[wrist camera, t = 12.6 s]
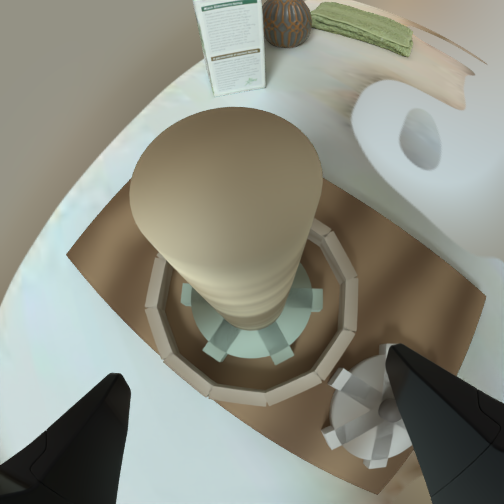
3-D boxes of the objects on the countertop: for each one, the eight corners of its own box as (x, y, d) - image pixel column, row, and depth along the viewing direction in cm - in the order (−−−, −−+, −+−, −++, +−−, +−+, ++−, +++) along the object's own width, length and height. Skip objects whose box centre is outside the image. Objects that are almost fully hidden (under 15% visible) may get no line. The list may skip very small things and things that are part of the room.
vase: (255, 50, 30) (252, -6, 22) (263, 31, 32) (261, -18, 24) (309, 55, 29) (314, -2, 21) (310, 35, 32) (314, -14, 23)
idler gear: (339, 328, 17) (478, 256, 5) (225, 388, 16) (126, 455, 4) (275, 220, 20) (282, 44, 7) (171, 271, 19) (52, 140, 6)
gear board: (479, 299, 17) (503, 289, 14) (373, 489, 13) (388, 507, 10) (201, 122, 25) (194, 97, 22) (72, 258, 20) (50, 244, 17)
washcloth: (410, 63, 30) (416, 47, 27) (300, 29, 33) (301, 12, 30) (410, 38, 34) (414, 25, 31) (321, 10, 37) (322, -4, 34)
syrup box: (267, 88, 26) (264, -36, 13) (212, 99, 26) (188, -27, 13) (254, 64, 28) (247, -43, 15) (205, 73, 28) (184, -34, 15)
